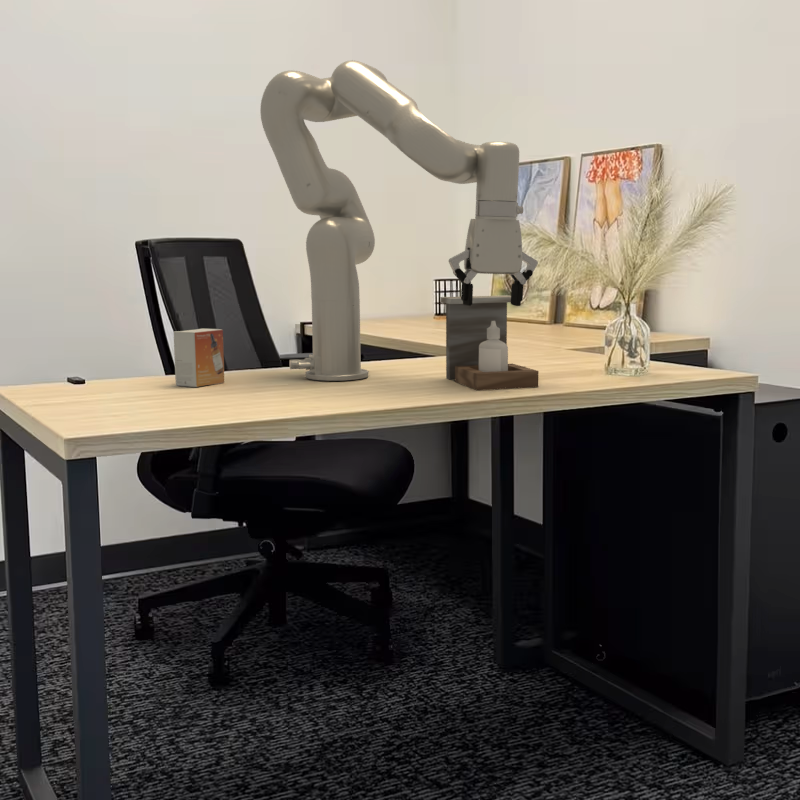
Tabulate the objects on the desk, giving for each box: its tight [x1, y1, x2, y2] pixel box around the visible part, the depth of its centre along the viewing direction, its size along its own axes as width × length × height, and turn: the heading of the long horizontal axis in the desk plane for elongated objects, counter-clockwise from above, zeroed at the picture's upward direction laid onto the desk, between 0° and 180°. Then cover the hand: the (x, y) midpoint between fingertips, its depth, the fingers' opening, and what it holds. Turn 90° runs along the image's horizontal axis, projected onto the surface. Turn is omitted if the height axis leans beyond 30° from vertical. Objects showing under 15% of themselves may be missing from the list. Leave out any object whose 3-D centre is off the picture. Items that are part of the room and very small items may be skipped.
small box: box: [173, 327, 225, 388], centre depth 186 cm, size 8×6×10 cm
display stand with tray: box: [440, 294, 540, 391], centre depth 184 cm, size 18×14×16 cm
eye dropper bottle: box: [479, 321, 509, 372], centre depth 181 cm, size 4×6×12 cm
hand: (491, 305), depth 180 cm, fingers open, 9 cm apart
